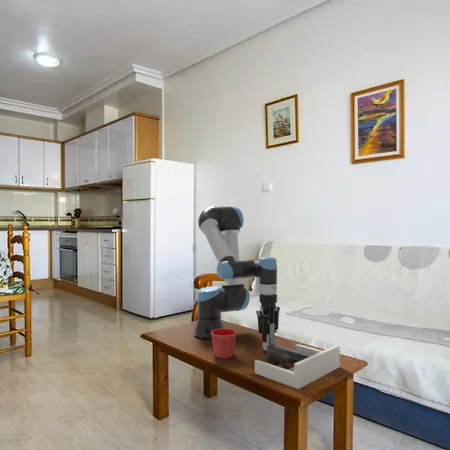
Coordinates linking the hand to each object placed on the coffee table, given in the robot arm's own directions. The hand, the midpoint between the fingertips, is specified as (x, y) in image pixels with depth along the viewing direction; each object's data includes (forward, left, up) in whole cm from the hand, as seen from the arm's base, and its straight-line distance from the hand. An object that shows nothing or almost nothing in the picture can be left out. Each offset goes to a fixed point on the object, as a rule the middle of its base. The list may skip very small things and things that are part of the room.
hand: (268, 348), depth 159 cm
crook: (+12, -8, -1) cm, 14 cm away
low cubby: (+21, -8, -2) cm, 22 cm away
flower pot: (-11, -16, -2) cm, 19 cm away
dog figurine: (+14, -11, -2) cm, 18 cm away
